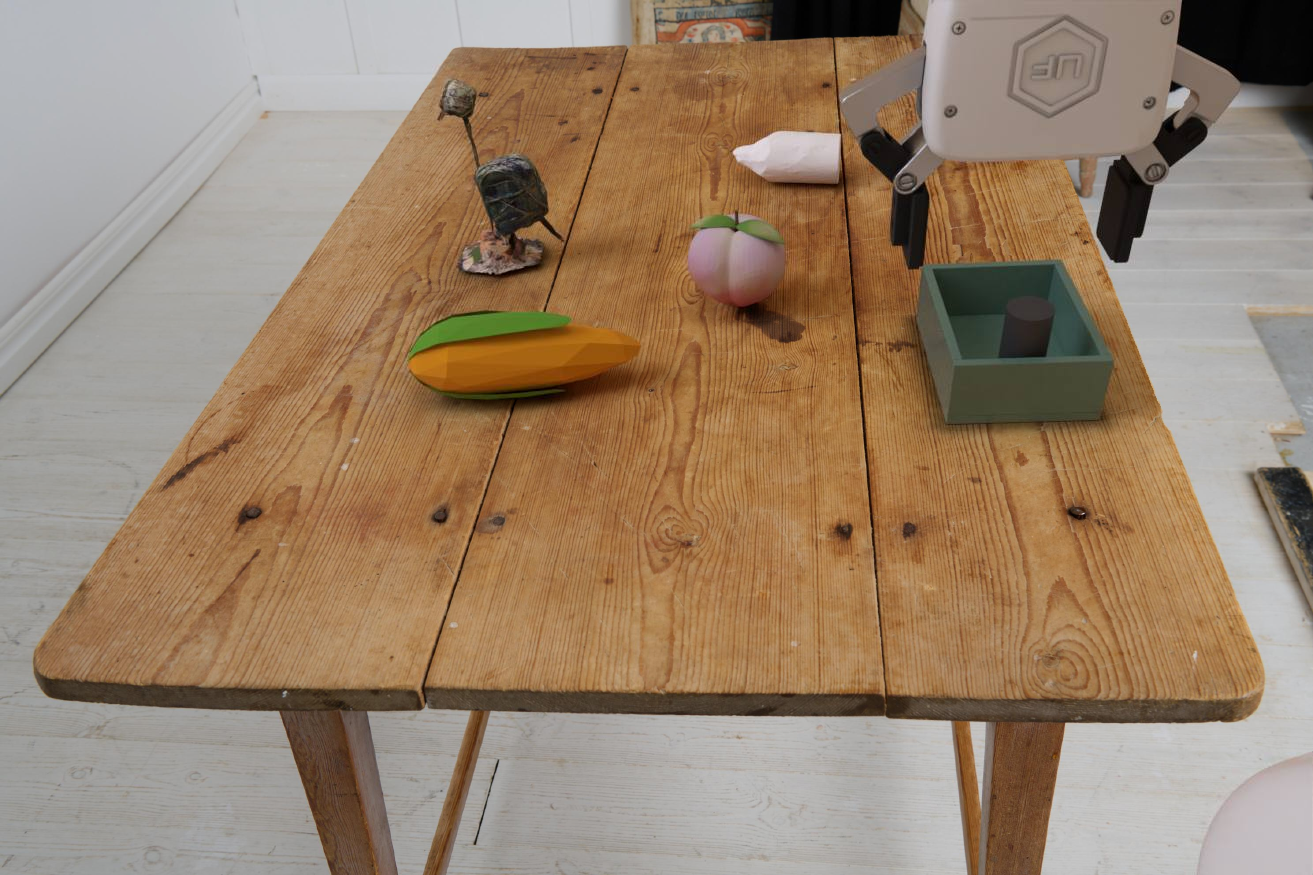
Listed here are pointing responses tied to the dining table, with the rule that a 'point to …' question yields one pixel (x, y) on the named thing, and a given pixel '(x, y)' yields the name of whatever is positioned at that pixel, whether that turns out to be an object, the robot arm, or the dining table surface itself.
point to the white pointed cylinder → (794, 157)
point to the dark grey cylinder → (1026, 328)
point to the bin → (969, 335)
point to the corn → (513, 353)
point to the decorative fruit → (736, 258)
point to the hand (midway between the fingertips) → (1010, 253)
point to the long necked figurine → (500, 198)
